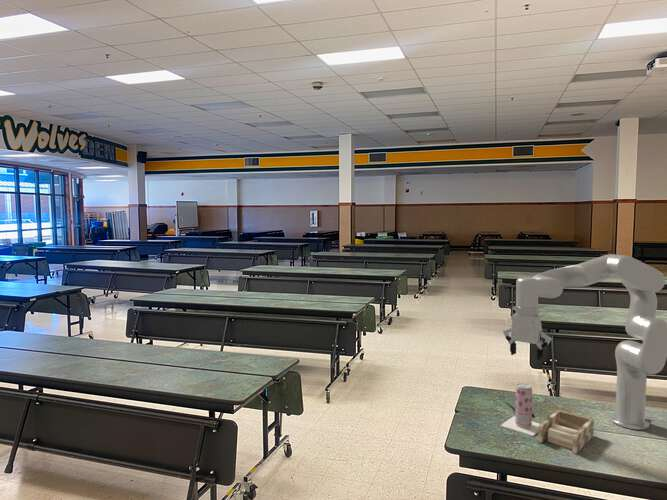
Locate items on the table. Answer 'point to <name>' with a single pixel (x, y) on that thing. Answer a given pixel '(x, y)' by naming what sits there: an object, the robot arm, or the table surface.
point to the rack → (569, 421)
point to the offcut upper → (561, 433)
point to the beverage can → (523, 406)
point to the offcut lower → (560, 442)
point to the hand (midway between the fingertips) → (526, 356)
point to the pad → (528, 431)
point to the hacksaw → (515, 409)
